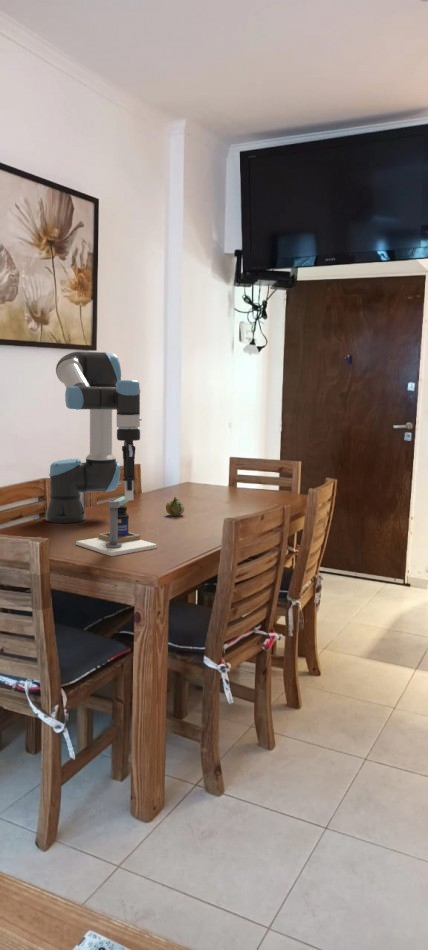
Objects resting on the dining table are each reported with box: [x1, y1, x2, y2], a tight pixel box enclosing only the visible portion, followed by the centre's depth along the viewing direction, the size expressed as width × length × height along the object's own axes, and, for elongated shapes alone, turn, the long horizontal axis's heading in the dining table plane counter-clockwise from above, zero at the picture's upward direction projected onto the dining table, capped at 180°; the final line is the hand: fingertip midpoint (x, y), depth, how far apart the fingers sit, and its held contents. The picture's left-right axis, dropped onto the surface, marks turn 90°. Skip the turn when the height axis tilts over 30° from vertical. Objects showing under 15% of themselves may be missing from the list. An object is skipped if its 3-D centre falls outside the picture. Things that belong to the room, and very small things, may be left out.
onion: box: [165, 496, 185, 517], centre depth 288 cm, size 8×8×8 cm
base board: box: [75, 508, 158, 557], centre depth 231 cm, size 20×18×14 cm
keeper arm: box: [107, 495, 130, 509], centre depth 230 cm, size 15×4×2 cm, turn 170°
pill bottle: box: [117, 505, 130, 538], centre depth 237 cm, size 6×6×11 cm
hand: (129, 500), depth 232 cm, fingers closed
